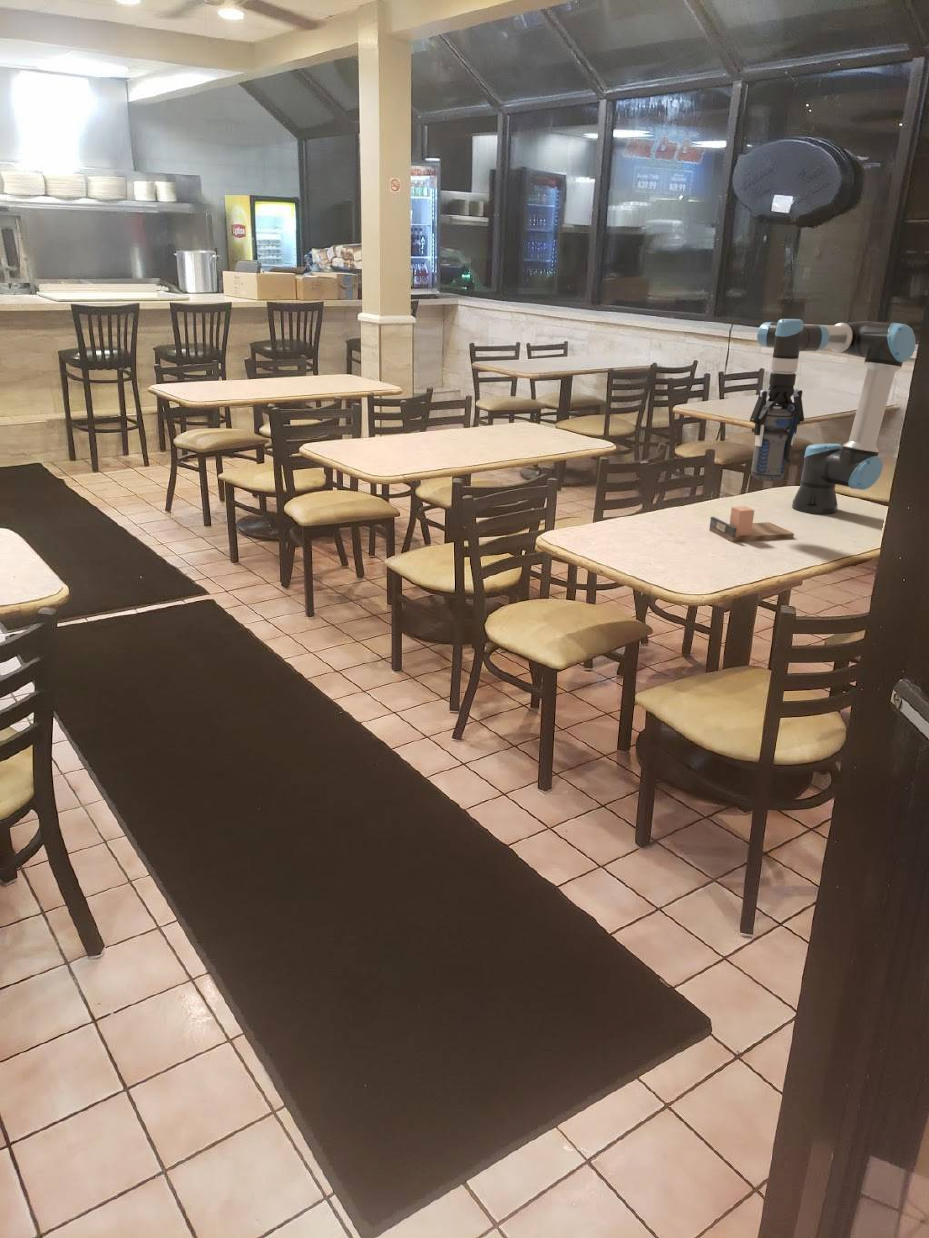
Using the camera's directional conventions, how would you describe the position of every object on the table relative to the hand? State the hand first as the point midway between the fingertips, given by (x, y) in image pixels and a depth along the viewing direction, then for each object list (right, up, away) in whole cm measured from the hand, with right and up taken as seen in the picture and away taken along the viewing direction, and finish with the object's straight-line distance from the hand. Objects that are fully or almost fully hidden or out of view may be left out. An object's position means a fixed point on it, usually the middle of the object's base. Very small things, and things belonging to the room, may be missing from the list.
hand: (773, 445), depth 297 cm
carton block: (-9, -27, +4) cm, 29 cm away
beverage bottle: (0, -10, +4) cm, 11 cm away
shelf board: (-4, -27, +9) cm, 29 cm away
